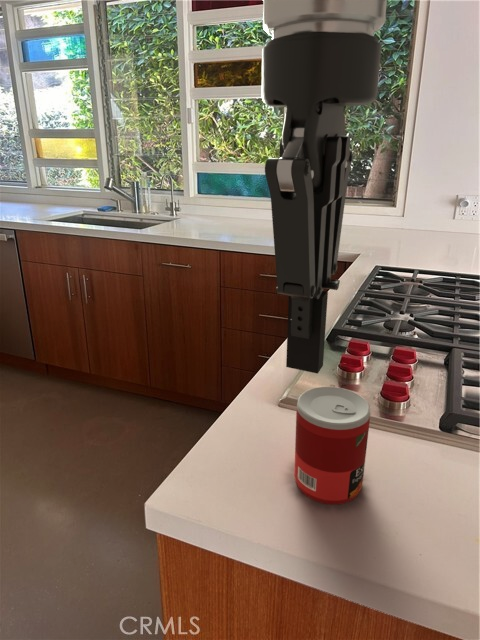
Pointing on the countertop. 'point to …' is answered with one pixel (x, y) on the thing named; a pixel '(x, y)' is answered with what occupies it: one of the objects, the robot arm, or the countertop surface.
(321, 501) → the canned food
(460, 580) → the countertop surface
